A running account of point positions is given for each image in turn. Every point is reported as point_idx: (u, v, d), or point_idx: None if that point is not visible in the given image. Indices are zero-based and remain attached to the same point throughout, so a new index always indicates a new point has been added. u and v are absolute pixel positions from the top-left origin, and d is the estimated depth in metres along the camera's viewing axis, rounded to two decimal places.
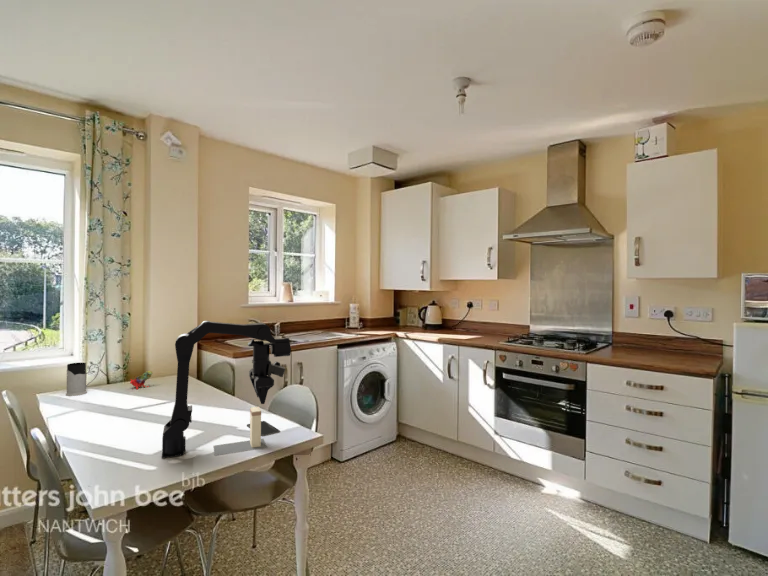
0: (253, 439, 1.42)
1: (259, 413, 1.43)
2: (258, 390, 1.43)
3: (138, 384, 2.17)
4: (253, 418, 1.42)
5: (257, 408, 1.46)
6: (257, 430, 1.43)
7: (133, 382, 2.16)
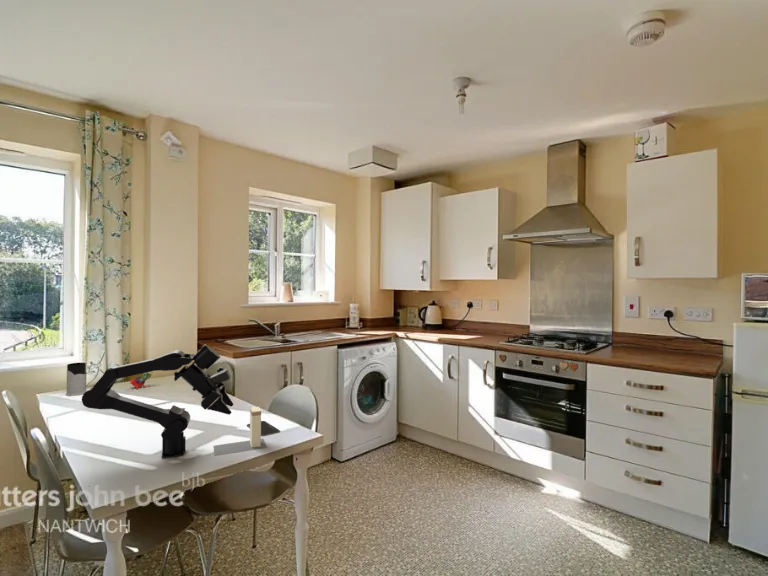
0: (253, 439, 1.42)
1: (259, 413, 1.43)
2: (213, 408, 1.35)
3: (138, 384, 2.17)
4: (253, 418, 1.42)
5: (257, 408, 1.46)
6: (257, 430, 1.43)
7: (133, 382, 2.16)
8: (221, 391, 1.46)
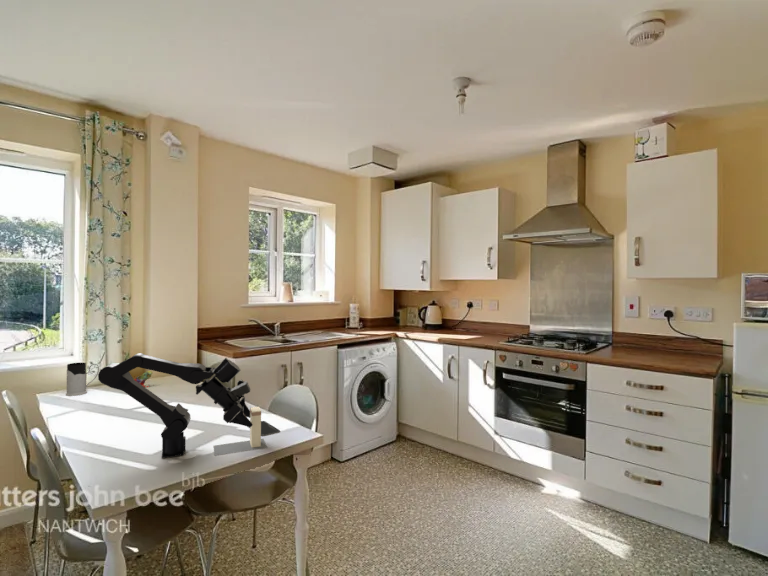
0: (253, 439, 1.42)
1: (259, 413, 1.43)
2: (235, 421, 1.37)
3: None
4: (253, 418, 1.42)
5: (257, 408, 1.46)
6: (257, 430, 1.43)
7: None
8: (241, 403, 1.48)
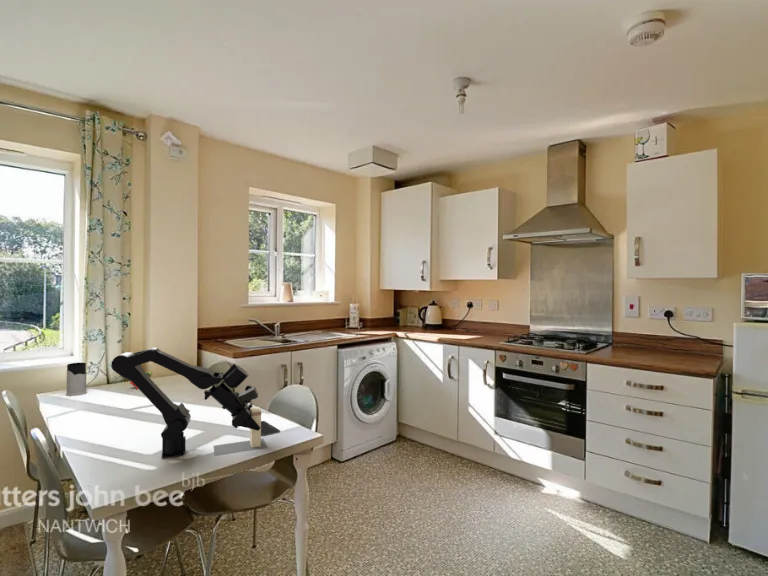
0: (253, 439, 1.42)
1: (259, 413, 1.43)
2: (243, 425, 1.39)
3: None
4: (253, 418, 1.42)
5: (257, 408, 1.46)
6: (257, 430, 1.43)
7: None
8: (248, 410, 1.47)
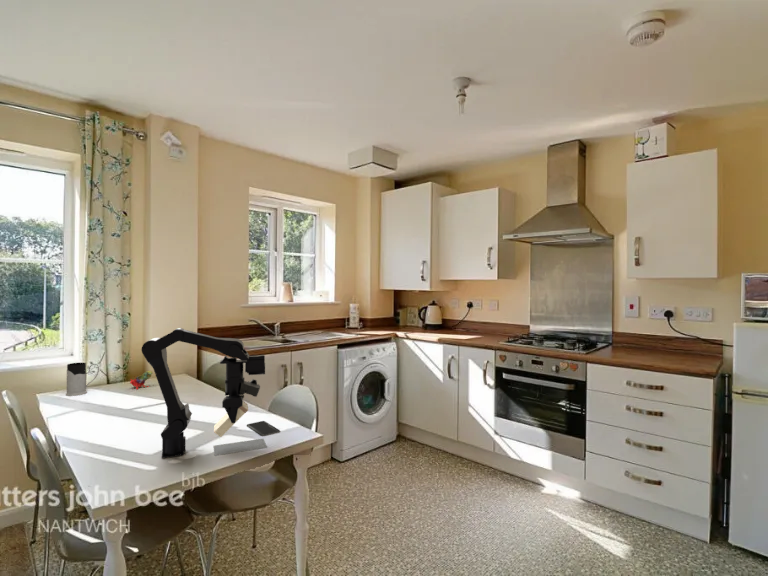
0: (221, 426, 1.39)
1: (245, 410, 1.41)
2: (227, 409, 1.38)
3: (138, 384, 2.17)
4: None
5: (246, 404, 1.44)
6: (231, 422, 1.40)
7: (133, 382, 2.16)
8: None
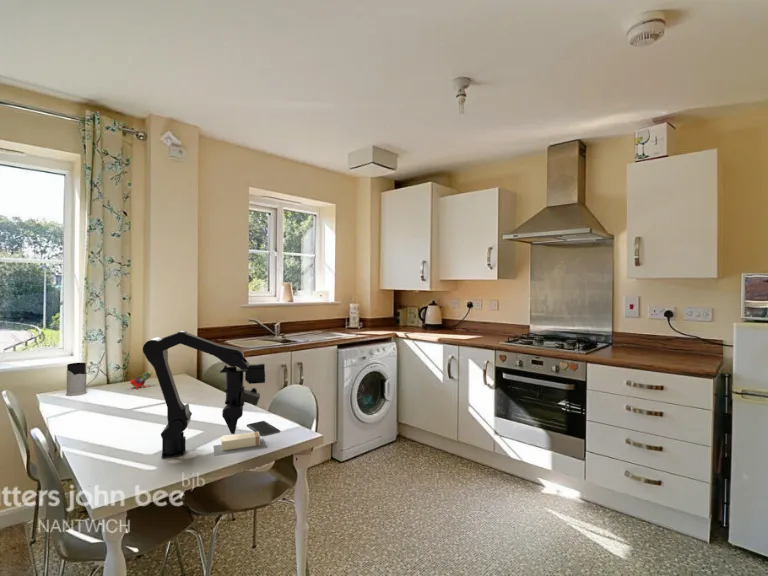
0: (230, 442, 1.41)
1: (257, 443, 1.44)
2: (227, 420, 1.36)
3: (138, 384, 2.17)
4: (253, 438, 1.43)
5: None
6: (239, 444, 1.42)
7: (133, 382, 2.16)
8: None
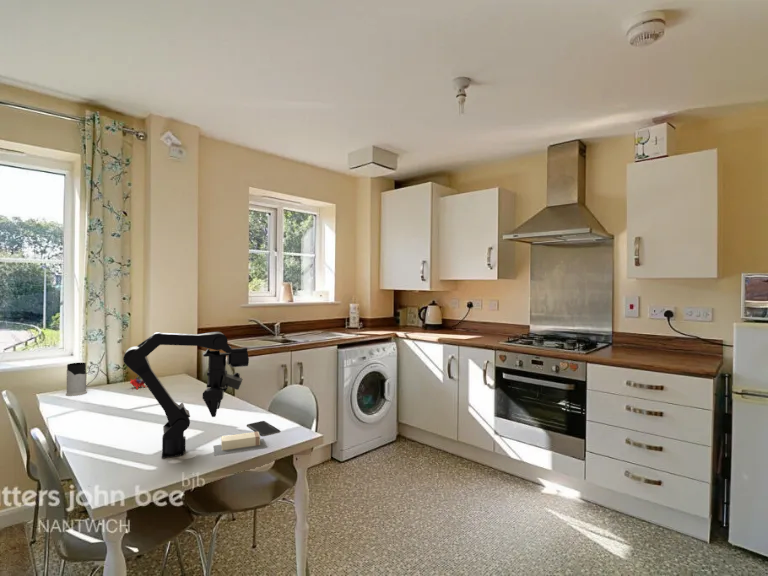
0: (230, 442, 1.41)
1: (257, 443, 1.44)
2: (207, 402, 1.37)
3: (138, 384, 2.17)
4: (253, 438, 1.43)
5: None
6: (239, 444, 1.42)
7: (133, 382, 2.16)
8: None
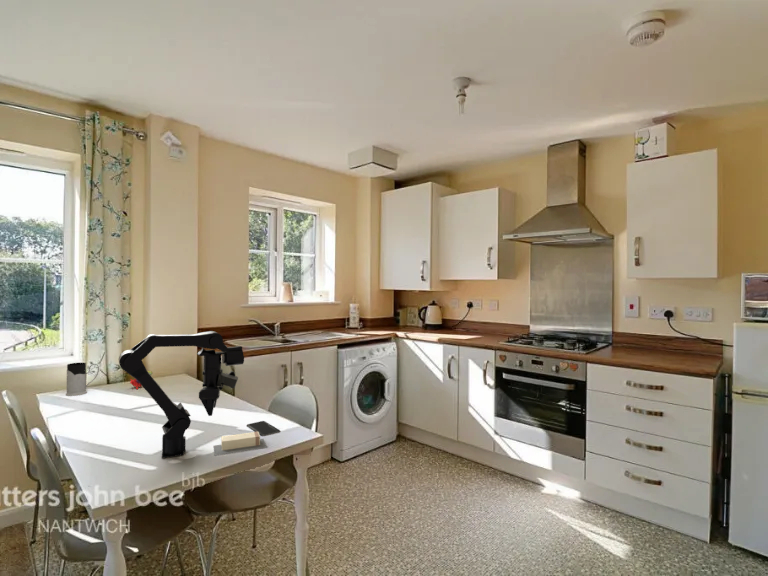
0: (230, 442, 1.41)
1: (257, 443, 1.44)
2: (204, 401, 1.38)
3: (138, 384, 2.17)
4: (253, 438, 1.43)
5: None
6: (239, 444, 1.42)
7: (133, 382, 2.16)
8: None
